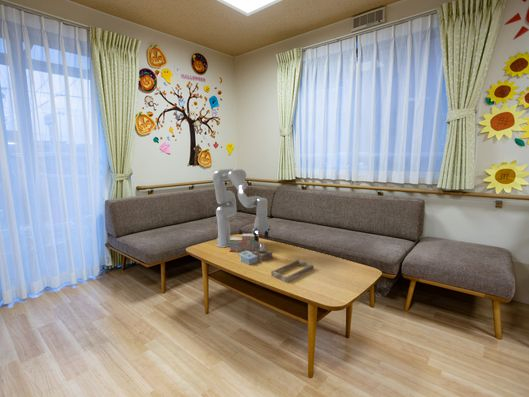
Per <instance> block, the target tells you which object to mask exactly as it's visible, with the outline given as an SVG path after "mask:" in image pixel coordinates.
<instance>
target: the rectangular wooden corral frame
mask: <svg viewBox="0 0 529 397" xmlns="http://www.w3.org/2000/svg"><path fill="white" fill-rule="evenodd" d="M296 266H301V267H303V268H302V269H300V270H298V271H295V272H293V273H292V274H290V275H288V276H286V275H283V274H282V273H283V272H286V271H288V270H290V269H292V268H294V267H296ZM312 269H313V270H314V264H311V263H310V262H309V263H308V262H306V261H303V260H299V259H296V260H294V261H292V262H290V263H287V264H285V265H282V266H281V267H279V268H275V269H274V270H271V275H270V276H271V277H273V278H276V279H277V280H280V281H281V282H284V283H289V282H291V281H294V280H295V279H297V278H299V277H302V276H303V275H305V274H307V273H309V272H310V270H311V271H312ZM308 271H309V272H308ZM306 272H307V273H306Z"/></svg>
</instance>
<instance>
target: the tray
mask: <svg viewBox="0 0 529 397" xmlns="http://www.w3.org/2000/svg"><path fill="white" fill-rule="evenodd" d="M248 253H252V252H249V251H244V252H239V253H238V254H237V255H238V257H240V258H241V256H242V255H245V254H248Z"/></svg>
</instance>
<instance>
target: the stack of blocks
mask: <svg viewBox="0 0 529 397" xmlns="http://www.w3.org/2000/svg"><path fill="white" fill-rule="evenodd" d="M257 236H258V241H255V240H254V234H253V233H252V232H251V233H242V235H241V237H239V236H237V237H233V236H232V237H231V236H230V246H229V250H230V251H229V252H235V253H237V252H239V253H241V252H244V251H249V252H254V251H257V250H260V237H259V236H260V233H259V234H258V235H257Z"/></svg>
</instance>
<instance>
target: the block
mask: <svg viewBox="0 0 529 397" xmlns="http://www.w3.org/2000/svg"><path fill="white" fill-rule="evenodd" d="M240 262H242V263H243V264H246V265H248V266H250V265H252V264H255V263H258V262H259V260H258V256H257V255H254V254H252V253H248V254H245V255H242V256H241V257H240Z"/></svg>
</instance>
